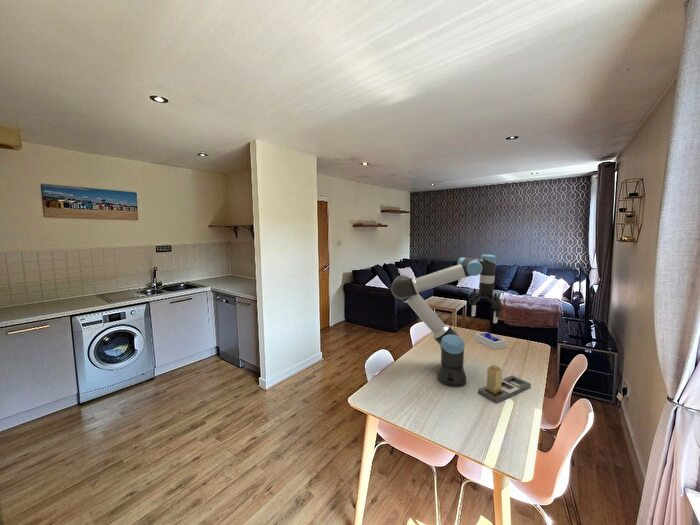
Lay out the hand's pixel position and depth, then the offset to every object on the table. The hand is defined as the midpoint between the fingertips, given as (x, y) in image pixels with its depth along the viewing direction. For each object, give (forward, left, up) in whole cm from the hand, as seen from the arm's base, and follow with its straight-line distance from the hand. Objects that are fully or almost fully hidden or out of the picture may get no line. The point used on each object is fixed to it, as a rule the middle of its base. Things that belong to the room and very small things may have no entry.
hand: (483, 319), depth 165 cm
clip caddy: (+36, +30, -31) cm, 56 cm away
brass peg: (-13, -21, -31) cm, 40 cm away
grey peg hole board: (-4, -20, -31) cm, 37 cm away
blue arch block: (+36, +30, -31) cm, 56 cm away
